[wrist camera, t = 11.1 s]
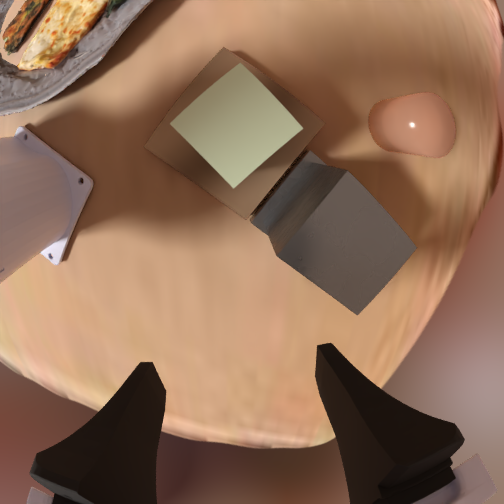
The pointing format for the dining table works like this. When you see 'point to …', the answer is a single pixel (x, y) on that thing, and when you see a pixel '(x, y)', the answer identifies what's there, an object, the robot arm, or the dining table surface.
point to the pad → (200, 171)
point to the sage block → (236, 124)
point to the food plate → (58, 46)
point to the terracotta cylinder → (413, 125)
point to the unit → (333, 232)
